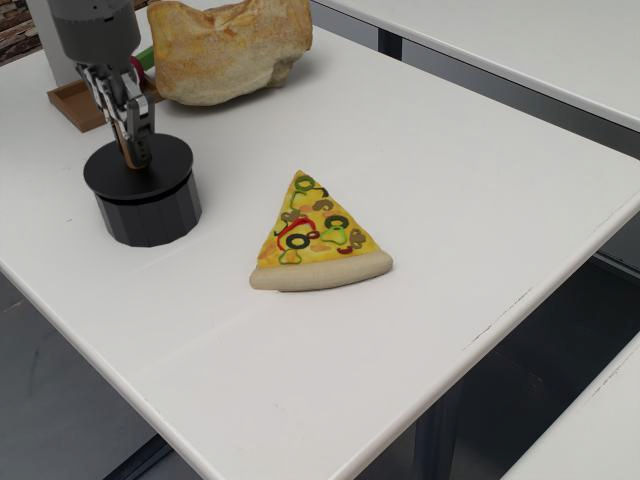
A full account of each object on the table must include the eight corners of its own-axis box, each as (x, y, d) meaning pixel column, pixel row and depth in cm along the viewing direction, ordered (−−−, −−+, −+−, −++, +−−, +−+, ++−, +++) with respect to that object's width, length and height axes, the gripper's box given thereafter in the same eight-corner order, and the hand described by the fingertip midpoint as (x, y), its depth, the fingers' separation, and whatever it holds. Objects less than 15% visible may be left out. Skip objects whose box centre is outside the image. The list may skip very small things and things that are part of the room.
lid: (116, 219, 72) (97, 166, 67) (68, 168, 79) (48, 117, 74) (215, 173, 77) (204, 120, 72) (161, 129, 84) (148, 78, 79)
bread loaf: (283, 56, 113) (275, -46, 103) (324, 89, 101) (319, -22, 91) (141, 82, 106) (119, -24, 96) (167, 121, 94) (145, 4, 85)
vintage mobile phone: (88, 90, 105) (27, -94, 87) (58, 89, 106) (-10, -94, 87) (97, 78, 108) (40, -104, 89) (68, 77, 108) (5, -103, 90)
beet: (103, 71, 97) (171, 28, 98) (92, 61, 101) (158, 20, 102) (124, 105, 101) (189, 64, 102) (113, 95, 105) (176, 55, 106)
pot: (135, 264, 78) (119, 219, 73) (93, 217, 84) (75, 172, 79) (219, 222, 82) (210, 176, 77) (173, 180, 88) (161, 135, 83)
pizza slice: (252, 301, 73) (248, 281, 71) (239, 185, 87) (236, 165, 84) (396, 281, 74) (397, 260, 72) (361, 169, 88) (360, 149, 85)
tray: (83, 137, 96) (79, 123, 95) (51, 105, 103) (46, 92, 101) (169, 102, 102) (165, 88, 100) (132, 73, 108) (129, 60, 106)
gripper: (22, -12, 66) (79, 145, 79) (83, 36, 58) (135, 201, 71) (94, -34, 69) (137, 120, 82) (161, 9, 61) (198, 172, 74)
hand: (136, 157), depth 76 cm, fingers closed on lid, 2 cm apart
